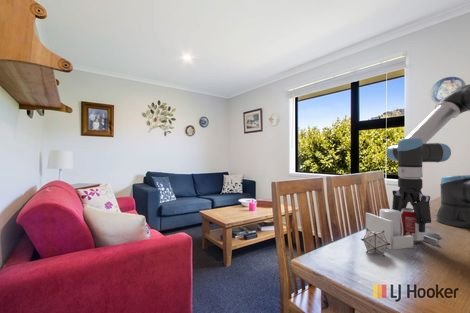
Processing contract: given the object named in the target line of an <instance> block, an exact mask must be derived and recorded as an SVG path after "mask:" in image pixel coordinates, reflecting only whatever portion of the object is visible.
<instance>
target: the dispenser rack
mask: <svg viewBox="0 0 470 313" xmlns="http://www.w3.org/2000/svg"><path fill="white" fill-rule="evenodd" d="M366 228H367V229H368V230H371V231H377V232H382V231H384V232H383V234H384V236H385V238H386V240H387V242H388V243H390V245H387V247H386V249H388V250H397V249H398V250H400V249H408V248H409V249H411V248H412V249H413V248H414V243H413V236H411V235H406V236H401V212H400V211H397V210H393V209H391V208H380V209H379V216H378V215H375V214H373V213H370V212H365V233H366V232H367V229H366ZM422 242H426V243H428V244H431V245H433V246H439V239H435V238H432V237H429V236H426V235H424V240H422Z"/></svg>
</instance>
